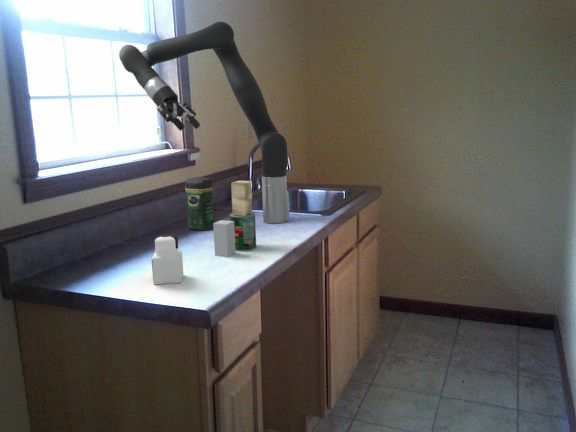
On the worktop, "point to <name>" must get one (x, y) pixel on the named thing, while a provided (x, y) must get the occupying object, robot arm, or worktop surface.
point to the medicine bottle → (167, 260)
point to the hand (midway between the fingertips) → (190, 127)
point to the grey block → (224, 238)
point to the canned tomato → (244, 232)
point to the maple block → (241, 198)
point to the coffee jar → (199, 203)
